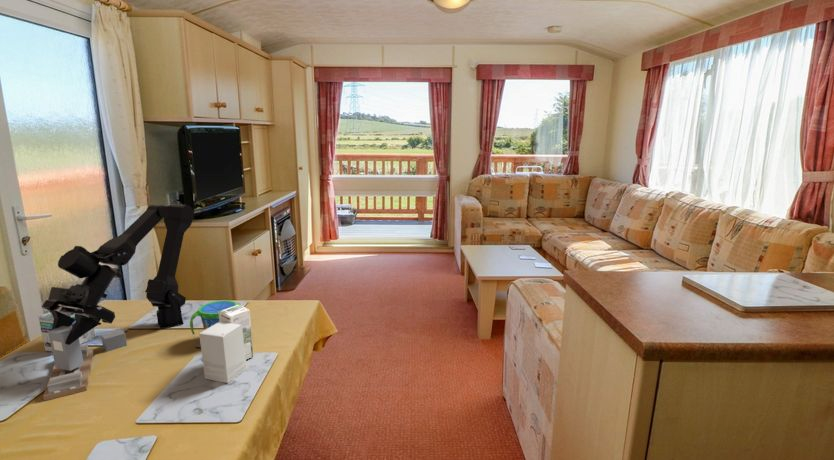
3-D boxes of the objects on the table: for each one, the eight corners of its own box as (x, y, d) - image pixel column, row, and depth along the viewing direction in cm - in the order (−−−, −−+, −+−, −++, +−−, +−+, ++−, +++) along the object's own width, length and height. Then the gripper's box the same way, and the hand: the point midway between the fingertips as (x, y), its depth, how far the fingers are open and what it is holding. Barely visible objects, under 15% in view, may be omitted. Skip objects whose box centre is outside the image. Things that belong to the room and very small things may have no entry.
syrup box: (241, 351, 125) (236, 303, 122) (254, 357, 122) (249, 308, 119) (222, 360, 121) (217, 310, 117) (235, 366, 117) (230, 315, 114)
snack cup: (246, 326, 141) (244, 296, 139) (250, 340, 132) (247, 308, 130) (192, 336, 135) (188, 305, 132) (192, 351, 125) (188, 318, 123)
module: (69, 360, 116) (62, 325, 114) (84, 363, 115) (76, 328, 112) (55, 367, 113) (47, 331, 110) (69, 370, 111) (62, 334, 109)
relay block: (123, 341, 132) (121, 329, 131) (127, 346, 129) (125, 333, 128) (103, 347, 128) (100, 334, 127) (106, 352, 126) (104, 339, 125)
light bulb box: (63, 353, 125) (56, 318, 122) (43, 351, 126) (36, 316, 124) (97, 336, 135) (91, 303, 133) (78, 334, 136) (72, 301, 134)
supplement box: (247, 369, 116) (243, 324, 113) (227, 384, 109) (222, 337, 107) (225, 364, 119) (220, 320, 116) (203, 379, 112) (197, 332, 109)
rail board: (57, 359, 121) (55, 349, 120) (93, 352, 125) (91, 341, 125) (44, 400, 103) (41, 388, 102) (86, 390, 107) (84, 378, 106)
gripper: (42, 269, 115) (2, 326, 107) (96, 275, 109) (57, 337, 101) (78, 287, 124) (43, 341, 116) (129, 294, 118) (97, 351, 111)
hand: (59, 342), depth 111 cm, fingers closed on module, 5 cm apart
